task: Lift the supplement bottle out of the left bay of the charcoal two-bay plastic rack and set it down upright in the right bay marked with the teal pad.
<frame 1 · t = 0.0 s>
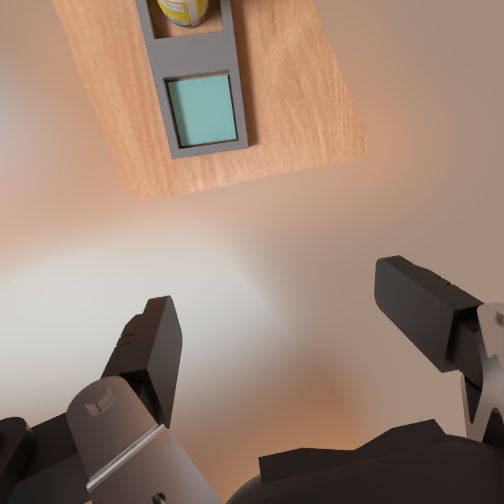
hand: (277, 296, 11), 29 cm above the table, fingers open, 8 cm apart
rack: (194, 59, 32), on the table
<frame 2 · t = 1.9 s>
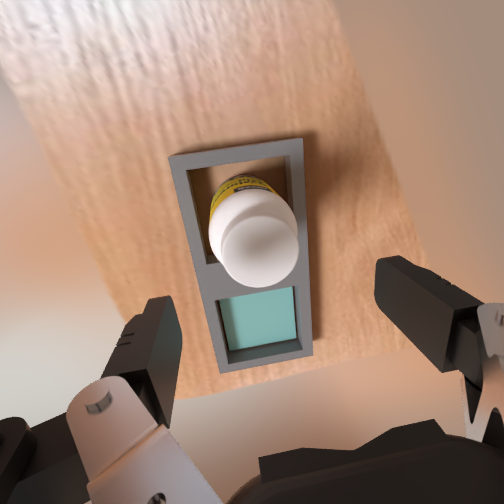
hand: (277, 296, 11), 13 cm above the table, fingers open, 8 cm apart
rack: (251, 266, 25), on the table
supplement bottle: (243, 206, 23), resting in rack
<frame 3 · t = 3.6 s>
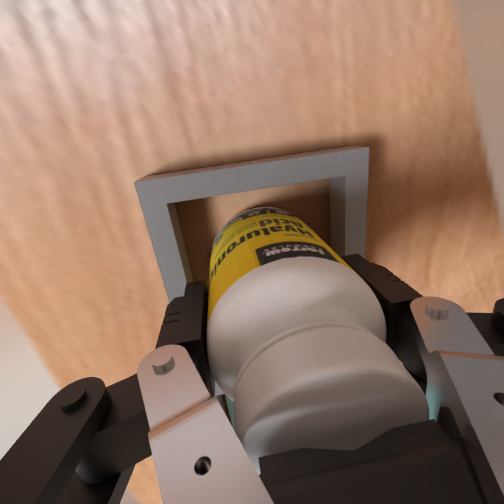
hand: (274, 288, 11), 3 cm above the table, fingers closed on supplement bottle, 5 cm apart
rack: (272, 337, 17), on the table
supplement bottle: (260, 253, 15), resting in rack, touching gripper
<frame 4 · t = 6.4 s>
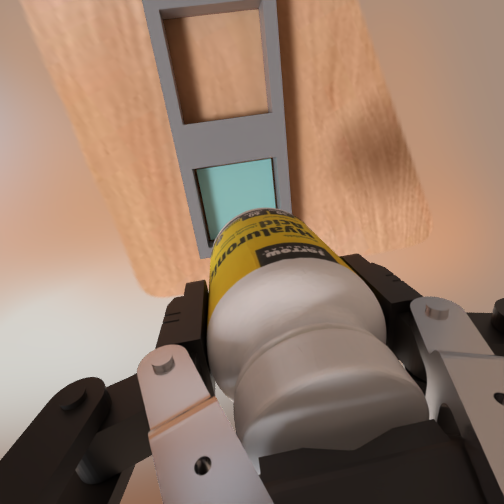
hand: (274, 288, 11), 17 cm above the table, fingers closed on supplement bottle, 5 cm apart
rack: (230, 141, 25), on the table
supplement bottle: (261, 253, 15), point 14 cm above the table, touching gripper
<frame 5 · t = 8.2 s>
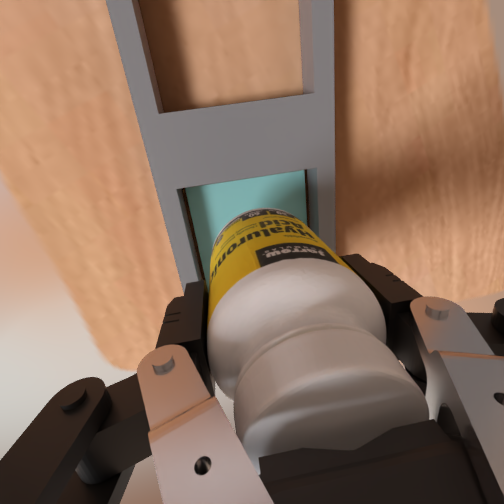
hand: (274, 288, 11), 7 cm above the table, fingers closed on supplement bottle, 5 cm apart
rack: (240, 142, 15), on the table
supplement bottle: (261, 254, 15), point 3 cm above the table, touching gripper
when the fingers open (5 cm above the table, at t = 9.5 s): supplement bottle drops 2 cm, resting on rack.
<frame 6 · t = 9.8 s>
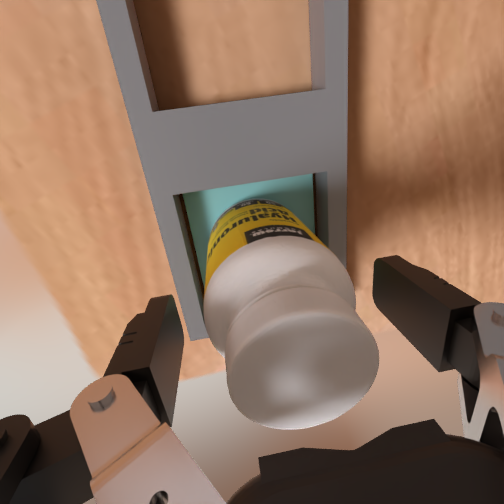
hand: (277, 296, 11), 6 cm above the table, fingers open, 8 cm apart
rack: (242, 143, 14), on the table
supplement bottle: (254, 241, 16), resting on rack
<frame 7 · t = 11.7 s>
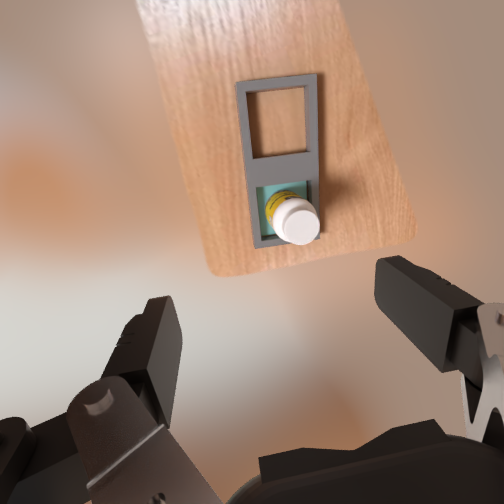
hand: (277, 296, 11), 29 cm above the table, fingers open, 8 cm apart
rack: (279, 168, 37), on the table
supplement bottle: (282, 208, 39), resting on rack
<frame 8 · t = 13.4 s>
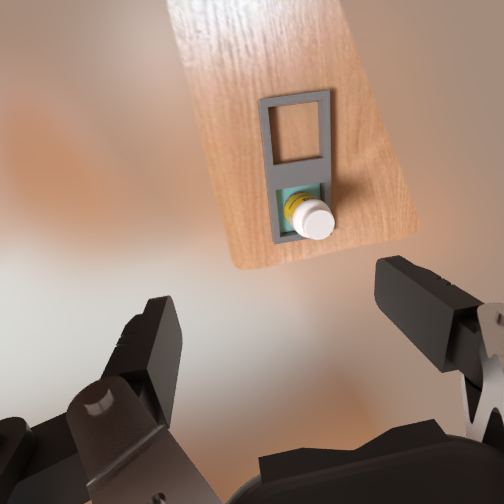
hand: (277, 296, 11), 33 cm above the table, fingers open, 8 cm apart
rack: (296, 172, 42), on the table
supplement bottle: (298, 207, 44), resting on rack
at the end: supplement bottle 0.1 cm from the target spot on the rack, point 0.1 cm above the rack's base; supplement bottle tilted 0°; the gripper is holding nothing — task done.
